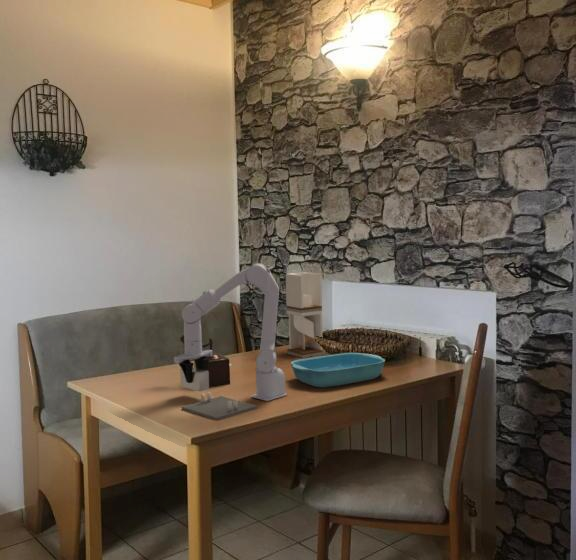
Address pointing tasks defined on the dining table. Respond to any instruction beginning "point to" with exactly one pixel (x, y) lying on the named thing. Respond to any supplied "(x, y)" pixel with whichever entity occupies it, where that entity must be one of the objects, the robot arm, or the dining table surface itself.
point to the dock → (218, 407)
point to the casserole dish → (338, 369)
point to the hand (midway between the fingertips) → (194, 381)
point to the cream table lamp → (304, 313)
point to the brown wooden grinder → (216, 367)
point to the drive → (196, 380)
